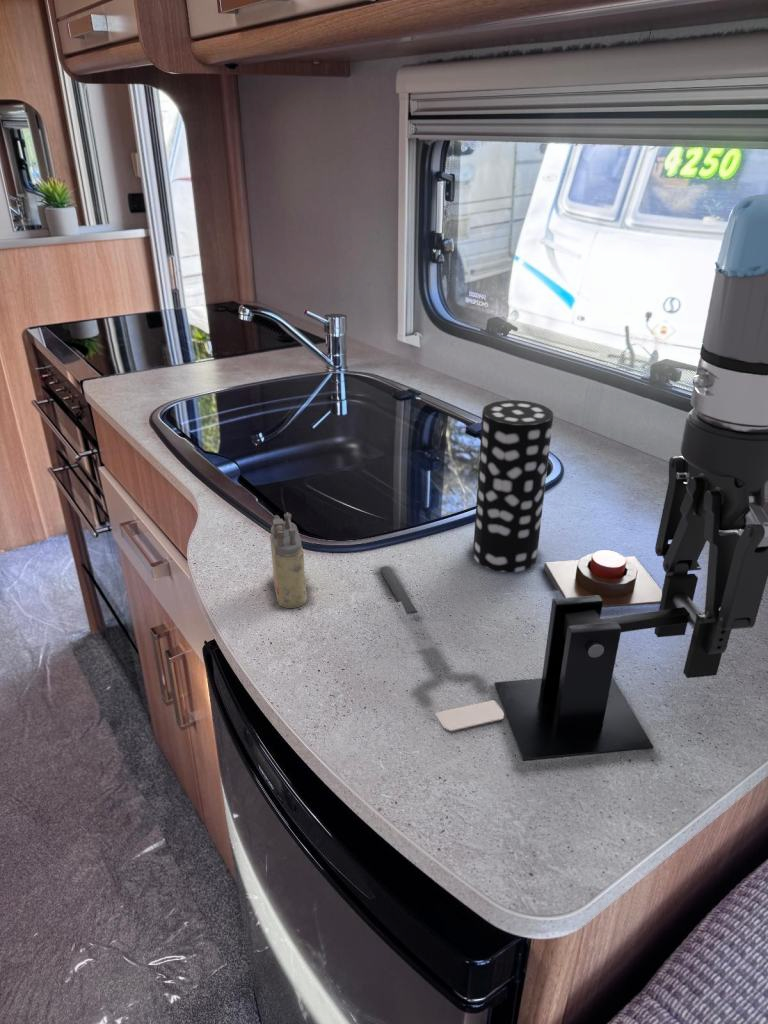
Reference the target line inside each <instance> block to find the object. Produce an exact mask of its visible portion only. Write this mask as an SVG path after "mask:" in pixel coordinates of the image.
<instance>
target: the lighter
mask: <svg viewBox="0 0 768 1024" xmlns="http://www.w3.org/2000/svg"><path fill="white" fill-rule="evenodd" d="M283 517H284V518H281V517H280V516H279V514H278V515H277V514H275V515H274V516H273V519H272V526H271V527H270V536H269V538H270V539H269V540H270V552H271V562H272V563H271V564H272V572H273V586H274V591H275V595H276V600H277V603H278V605H279V606H281V607H283V608H287V609H295V608H299V607H301V606H303V605H304V604H306V602H307V600H308V597H307V591H308V587H307V586H306V572H305V555H304V549H303V545H302V540H301V535H300V533H299V529H298V527H297V524H295V523H294V522H292V514H291V513H290V512H286V513H284V514H283ZM283 519H284V520H283Z"/></svg>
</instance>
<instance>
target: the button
mask: <svg viewBox="0 0 768 1024" xmlns="http://www.w3.org/2000/svg"><path fill="white" fill-rule="evenodd" d="M591 554H592V558H591V564H590V571H591V572H592V573H593V574H595V575H597V576H599V577H603V578H607V579H616V578H621V577H622V576H623V575H624V571H625V566H626V559H625V557H626V556H624V555H622V554H621V553H619V552H616V551H613V550H608V549H600V550H596V551H595V552H593V553H591Z"/></svg>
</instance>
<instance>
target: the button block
mask: <svg viewBox="0 0 768 1024" xmlns="http://www.w3.org/2000/svg"><path fill="white" fill-rule="evenodd" d="M592 554H593V553H588V554H586V555H584V556H582V557H580V558H579V559H571V560H556V561H555V560H554V561H544V564H543V571H544V573H545V574H546V576H547V578H548V580H549V581H550V584H551V585H552V586H553V588H554V590H555V591H560V593H561V594H562V596H563V598H568V597H582V596H595V595H599V596H600V597H601V599H602V600H603V605H602V609H603V608H616V607H628V606H629V607H630V606H640V605H641V606H643V605H653V604H654V605H655V604H660V602H661V598H662V589H663V588H661V587H660V585H659V584H658V583H657V582H656V581H655V579H654V578H653V577H652V575H651V574H650V573H649V571H648V570H647V569H646V568H645V566H644V565H642V563H641V562H640V561H639V559H638V558H637V556H635V555H629V556H624V557H625V559H626V566H625V571H624V575H623V576H622V577H621V578H616V579H607V578H603V577H599V576H597V575H595V574H593V573H592V572H591V571H590V564H591V558H592Z"/></svg>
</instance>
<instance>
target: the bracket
mask: <svg viewBox="0 0 768 1024" xmlns="http://www.w3.org/2000/svg"><path fill="white" fill-rule="evenodd" d="M602 605H603V600H602V599H601V597H600V596H599V595H595V596H582V597H568V598H564V597H557V598H552V600H551V607H550V613H549V614H550V616H549V621H548V629H547V636H546V637H547V638H546V644H545V652H544V660H543V666H542V667H543V668H542V674H541V677H540V678H529V679H518V680H506V681H495V682H494V687H495V690H496V693H497V695H498V697H499V700H500V703H501V706H502V708H503V712H504V715H505V716H506V719H507V721H508V724H509V727H510V730H511V732H512V735H513V738H514V740H515V743H516V745H517V749H518V751H519V754H520V756H521V759H522V761H523V762H528V761H540V760H548V759H560V758H568V757H569V758H570V757H580V756H589V755H590V756H591V755H598V754H599V755H600V754H610V753H621V752H631V751H632V752H633V751H641V750H650V749H651V750H652V749H654V745H653V743H652V741H651V740H650V738H649V736H648V735H647V733H646V732H645V729H644V728H643V726H642V725H641V723H640V721H639V720H638V718H637V716H636V714H635V713H634V711H633V710H632V708H631V706H630V704H629V703H628V702H627V700H626V698H625V696H624V694H623V693H622V691H621V690H620V688H619V686H618V684H617V682H616V681H615V679H614V677H613V676H614V669H615V664H616V659H617V655H618V649H619V644H620V639H621V634H622V632H621V627H620V626H619V624H618V623H617V622H610V623H597V624H584V625H572V626H568V628H567V635H566V639H565V637H564V635H563V633H564V614H566V613H573V612H580V611H587V610H595V611H596V612H597V614H598V615H599V617H600V618H601V616H602V612H603V611H602V610H603V608H602Z"/></svg>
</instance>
